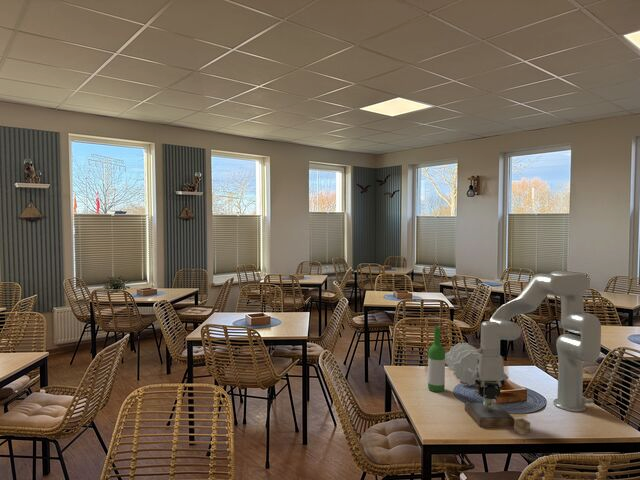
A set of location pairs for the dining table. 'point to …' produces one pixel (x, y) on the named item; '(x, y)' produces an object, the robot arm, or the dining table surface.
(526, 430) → the oak block
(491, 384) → the pneumatic valve
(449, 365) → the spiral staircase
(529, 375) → the dining table surface
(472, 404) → the stand
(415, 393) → the dining table surface
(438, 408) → the dining table surface
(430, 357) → the wine bottle
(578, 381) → the robot arm
